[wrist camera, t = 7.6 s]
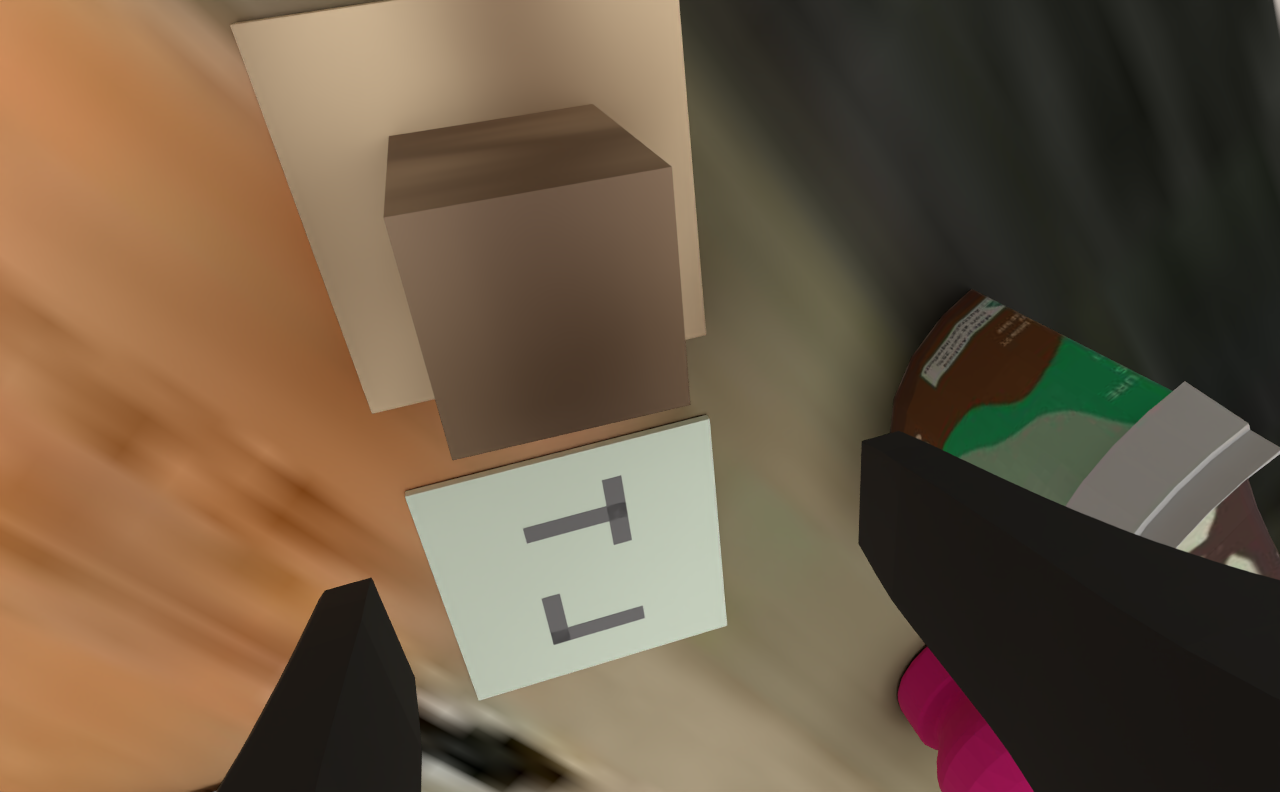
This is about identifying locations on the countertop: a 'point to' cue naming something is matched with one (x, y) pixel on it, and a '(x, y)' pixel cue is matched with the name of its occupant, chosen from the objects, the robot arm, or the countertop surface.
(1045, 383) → the food container
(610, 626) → the tile
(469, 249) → the block
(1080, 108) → the countertop surface
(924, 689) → the pepper mill
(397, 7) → the coaster
